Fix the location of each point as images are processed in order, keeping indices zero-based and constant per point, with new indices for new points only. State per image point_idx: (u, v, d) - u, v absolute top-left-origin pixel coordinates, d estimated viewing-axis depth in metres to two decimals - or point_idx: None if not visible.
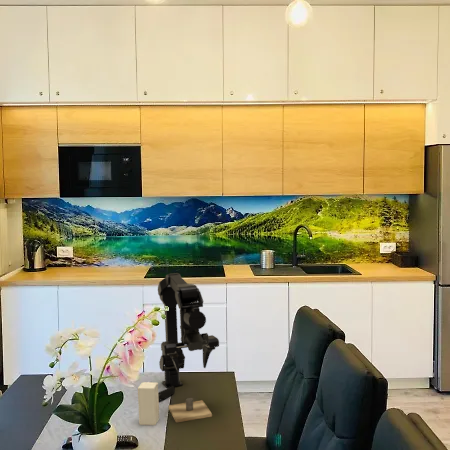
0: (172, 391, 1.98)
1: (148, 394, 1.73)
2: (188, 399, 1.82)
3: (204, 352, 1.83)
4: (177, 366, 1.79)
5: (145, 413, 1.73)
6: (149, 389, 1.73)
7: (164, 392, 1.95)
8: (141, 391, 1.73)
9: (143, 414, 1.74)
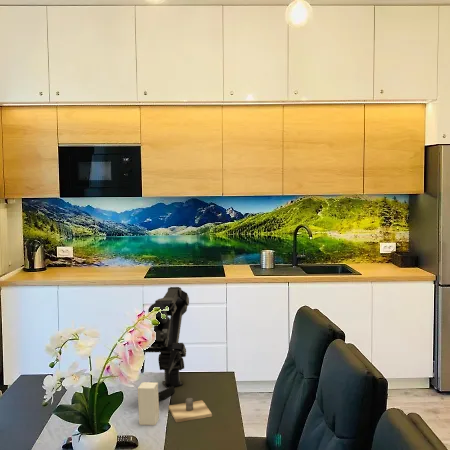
0: (172, 391, 1.98)
1: (148, 394, 1.73)
2: (188, 399, 1.82)
3: None
4: None
5: (145, 413, 1.73)
6: (149, 389, 1.73)
7: (164, 392, 1.95)
8: (141, 391, 1.73)
9: (143, 414, 1.74)
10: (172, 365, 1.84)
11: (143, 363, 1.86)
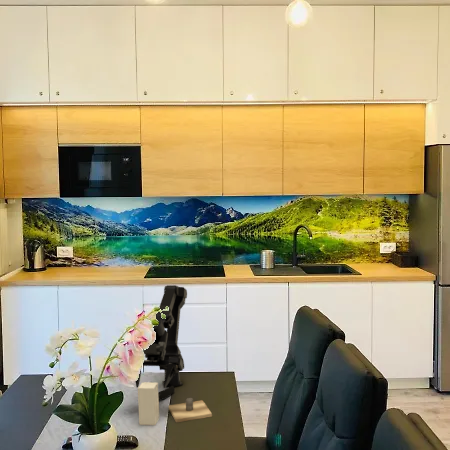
0: (172, 391, 1.98)
1: (148, 394, 1.73)
2: (188, 399, 1.82)
3: None
4: None
5: (145, 413, 1.73)
6: (149, 389, 1.73)
7: (164, 392, 1.95)
8: (141, 391, 1.73)
9: (143, 414, 1.74)
10: (168, 379, 1.80)
11: (139, 377, 1.82)
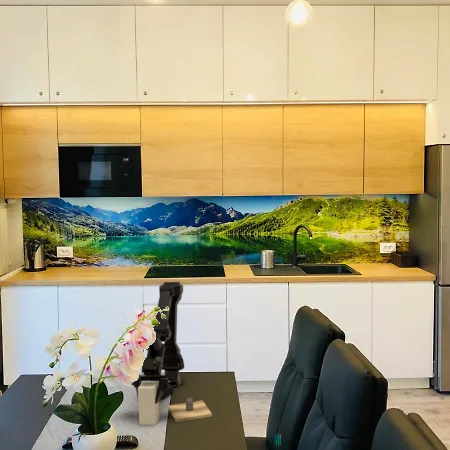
0: (171, 391, 1.98)
1: (148, 394, 1.73)
2: (188, 399, 1.82)
3: None
4: None
5: (145, 413, 1.73)
6: (149, 389, 1.73)
7: None
8: (141, 391, 1.73)
9: (143, 414, 1.74)
10: (160, 395, 1.76)
11: None
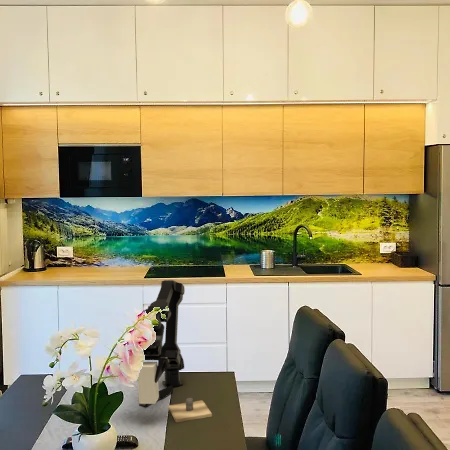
0: (170, 390, 1.99)
1: (148, 373, 1.72)
2: (188, 399, 1.82)
3: None
4: None
5: (145, 392, 1.73)
6: (149, 368, 1.72)
7: (162, 391, 1.96)
8: (141, 370, 1.73)
9: (143, 393, 1.73)
10: (160, 374, 1.75)
11: None
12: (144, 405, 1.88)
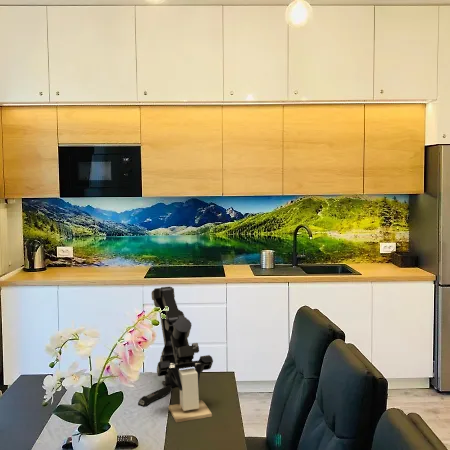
0: (169, 390, 1.99)
1: (192, 379, 1.79)
2: None
3: None
4: (179, 383, 1.80)
5: (190, 398, 1.79)
6: (193, 374, 1.79)
7: (161, 391, 1.96)
8: (185, 377, 1.78)
9: (187, 399, 1.79)
10: (198, 379, 1.83)
11: None
12: (143, 404, 1.89)
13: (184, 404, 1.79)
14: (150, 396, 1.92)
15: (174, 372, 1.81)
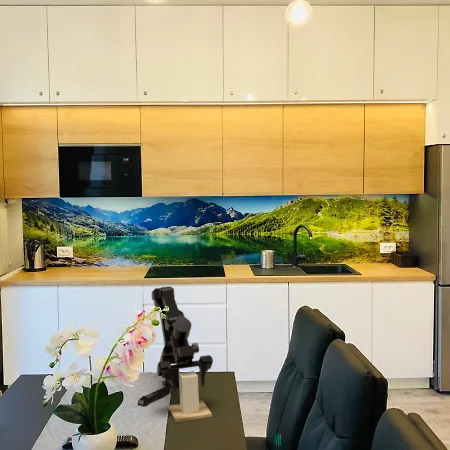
0: (168, 389, 1.99)
1: (192, 382, 1.79)
2: None
3: (200, 372, 1.85)
4: (174, 383, 1.79)
5: (190, 401, 1.79)
6: (193, 377, 1.79)
7: (161, 391, 1.96)
8: (185, 380, 1.78)
9: (187, 402, 1.79)
10: None
11: None
12: (142, 404, 1.89)
13: (184, 407, 1.79)
14: (150, 396, 1.92)
15: (169, 373, 1.81)
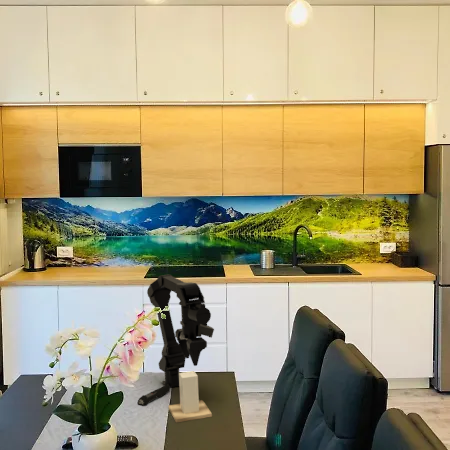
0: (167, 389, 2.00)
1: (192, 382, 1.79)
2: None
3: (186, 344, 1.98)
4: None
5: (190, 401, 1.79)
6: (193, 377, 1.79)
7: (160, 390, 1.97)
8: (185, 380, 1.78)
9: (187, 402, 1.79)
10: None
11: None
12: (142, 404, 1.89)
13: (184, 407, 1.79)
14: (149, 395, 1.92)
15: None
